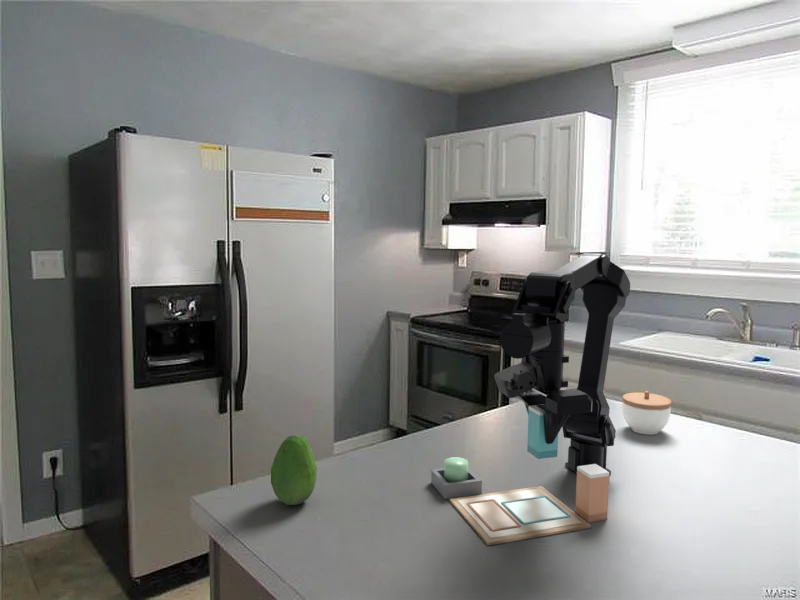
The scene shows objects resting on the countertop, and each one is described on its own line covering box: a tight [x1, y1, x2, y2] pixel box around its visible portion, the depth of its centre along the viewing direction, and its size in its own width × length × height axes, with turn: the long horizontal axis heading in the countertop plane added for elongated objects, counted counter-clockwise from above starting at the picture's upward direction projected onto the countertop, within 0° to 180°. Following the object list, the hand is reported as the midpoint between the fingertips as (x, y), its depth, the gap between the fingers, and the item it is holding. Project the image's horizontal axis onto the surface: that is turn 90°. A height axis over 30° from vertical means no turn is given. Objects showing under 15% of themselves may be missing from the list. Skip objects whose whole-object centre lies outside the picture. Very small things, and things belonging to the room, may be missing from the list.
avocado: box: [270, 434, 318, 506], centre depth 100 cm, size 8×8×12 cm
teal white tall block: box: [526, 404, 559, 460], centre depth 98 cm, size 4×4×8 cm
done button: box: [443, 456, 469, 483], centre depth 106 cm, size 4×4×3 cm
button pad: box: [430, 467, 483, 500], centre depth 106 cm, size 7×7×2 cm
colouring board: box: [449, 485, 592, 546], centre depth 97 cm, size 18×15×1 cm
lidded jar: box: [621, 390, 673, 436], centre depth 137 cm, size 11×11×9 cm
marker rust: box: [574, 464, 610, 523], centre depth 96 cm, size 4×4×8 cm
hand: (542, 439), depth 98 cm, fingers closed on teal white tall block, 4 cm apart
